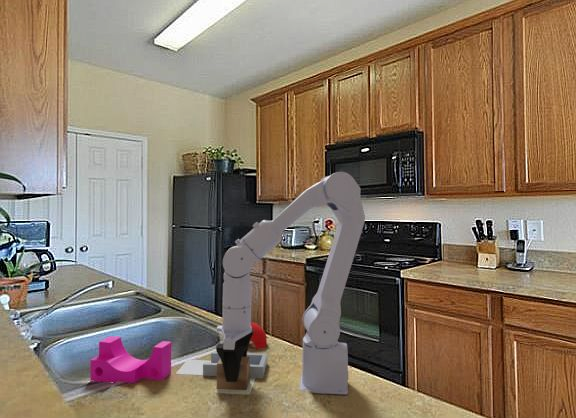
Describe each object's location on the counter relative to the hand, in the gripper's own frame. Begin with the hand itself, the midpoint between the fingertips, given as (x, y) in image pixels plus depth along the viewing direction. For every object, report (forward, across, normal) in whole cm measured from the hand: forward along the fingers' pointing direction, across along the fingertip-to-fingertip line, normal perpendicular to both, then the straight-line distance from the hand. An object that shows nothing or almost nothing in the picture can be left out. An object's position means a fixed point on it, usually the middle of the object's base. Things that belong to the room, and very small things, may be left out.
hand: (235, 372), depth 78 cm
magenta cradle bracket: (+3, -2, -23) cm, 23 cm away
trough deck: (+3, -8, -4) cm, 10 cm away
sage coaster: (+3, 0, 0) cm, 3 cm away
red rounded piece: (+3, -24, 0) cm, 24 cm away
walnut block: (+2, 0, 0) cm, 3 cm away
